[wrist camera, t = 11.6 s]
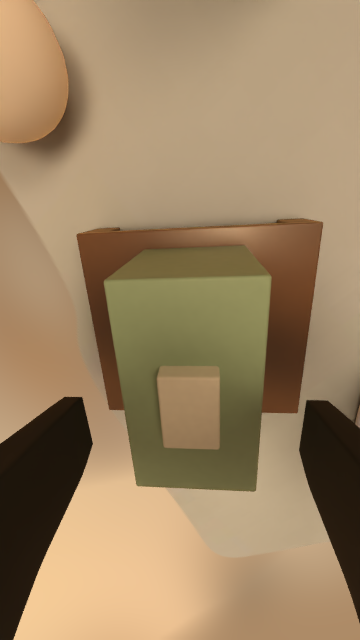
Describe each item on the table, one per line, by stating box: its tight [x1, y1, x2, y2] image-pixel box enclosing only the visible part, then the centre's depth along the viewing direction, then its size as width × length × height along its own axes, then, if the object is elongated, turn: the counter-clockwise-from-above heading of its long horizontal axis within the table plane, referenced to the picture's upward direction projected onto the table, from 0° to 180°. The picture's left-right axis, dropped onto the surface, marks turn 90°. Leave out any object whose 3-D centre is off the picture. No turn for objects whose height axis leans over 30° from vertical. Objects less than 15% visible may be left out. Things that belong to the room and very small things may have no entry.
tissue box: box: [104, 245, 272, 492], centre depth 12 cm, size 9×5×7 cm, turn 3°
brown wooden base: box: [77, 218, 323, 413], centre depth 17 cm, size 11×12×3 cm
